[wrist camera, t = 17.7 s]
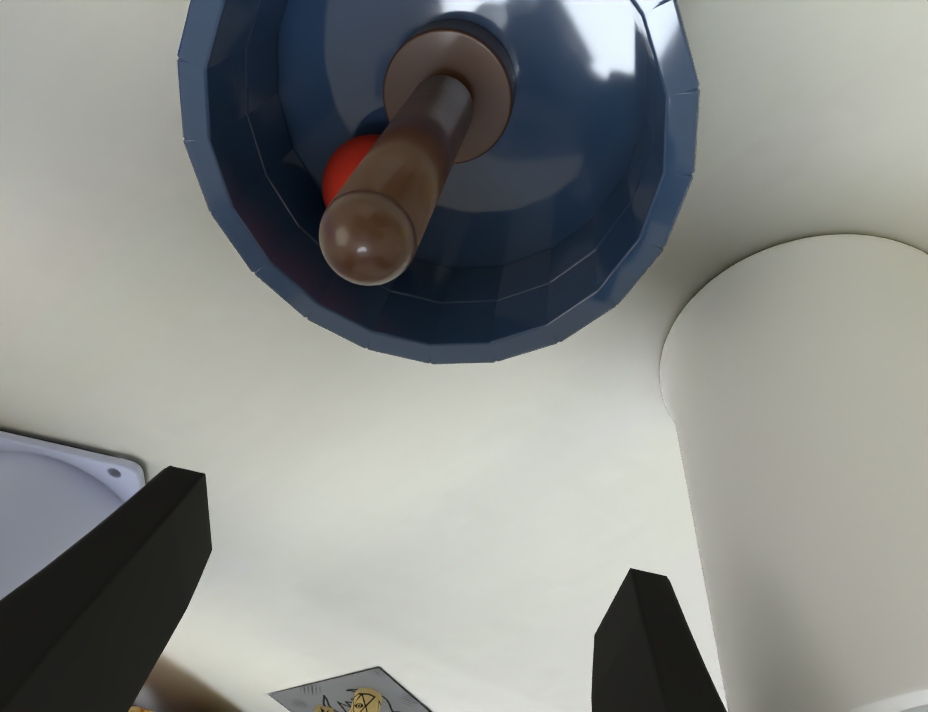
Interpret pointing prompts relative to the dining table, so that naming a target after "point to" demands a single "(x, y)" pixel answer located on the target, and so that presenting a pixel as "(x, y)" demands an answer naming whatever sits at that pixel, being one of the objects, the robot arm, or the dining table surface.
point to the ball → (344, 164)
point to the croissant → (139, 709)
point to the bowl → (468, 184)
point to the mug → (810, 471)
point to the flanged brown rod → (418, 147)
